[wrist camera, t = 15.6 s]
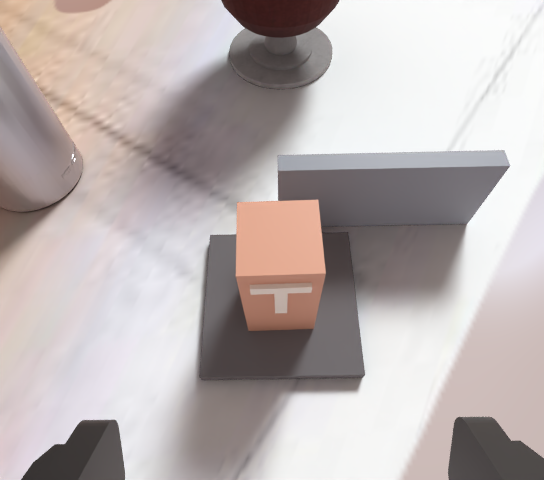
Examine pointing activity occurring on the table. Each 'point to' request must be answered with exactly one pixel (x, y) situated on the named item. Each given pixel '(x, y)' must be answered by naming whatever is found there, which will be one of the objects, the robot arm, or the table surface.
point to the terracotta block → (279, 263)
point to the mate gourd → (280, 41)
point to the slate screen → (392, 185)
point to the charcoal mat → (281, 343)
